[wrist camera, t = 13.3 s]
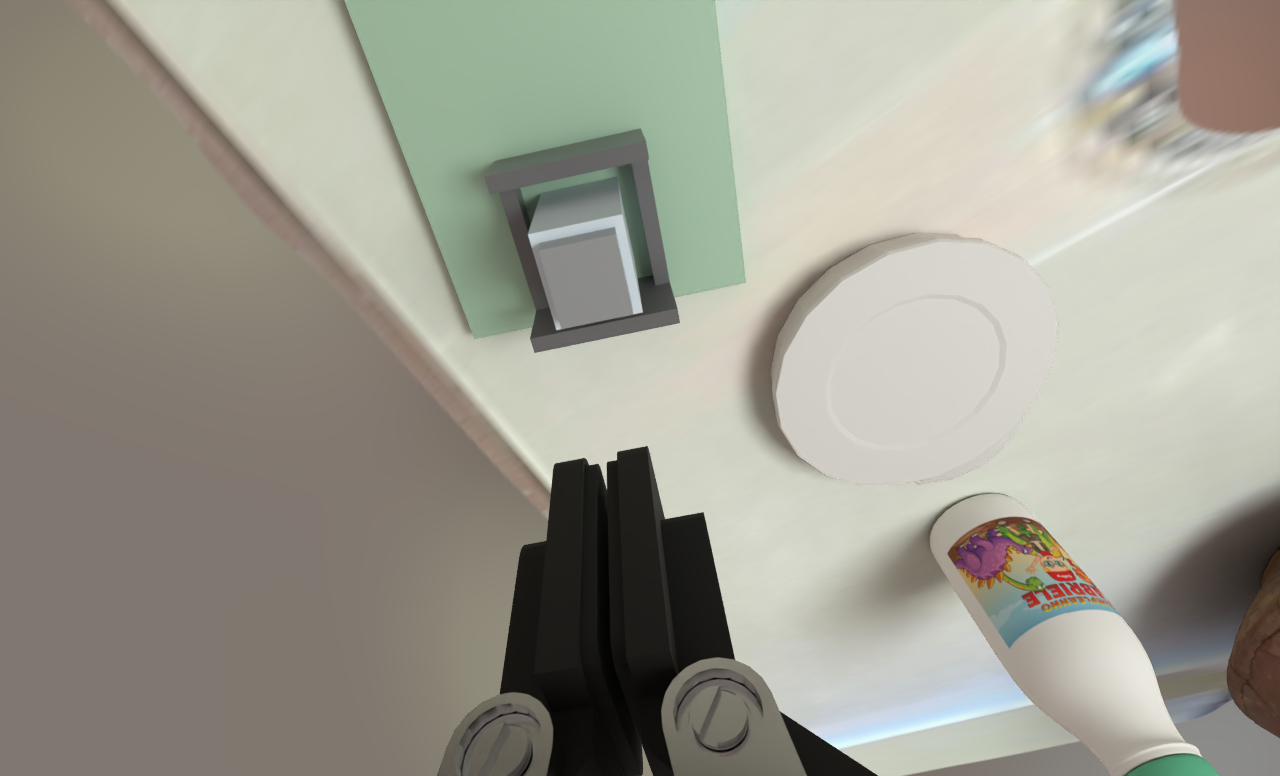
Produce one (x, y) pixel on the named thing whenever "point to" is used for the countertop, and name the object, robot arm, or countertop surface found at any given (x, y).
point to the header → (507, 182)
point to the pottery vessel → (1259, 654)
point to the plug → (585, 254)
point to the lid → (913, 359)
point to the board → (556, 127)
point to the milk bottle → (1060, 637)
